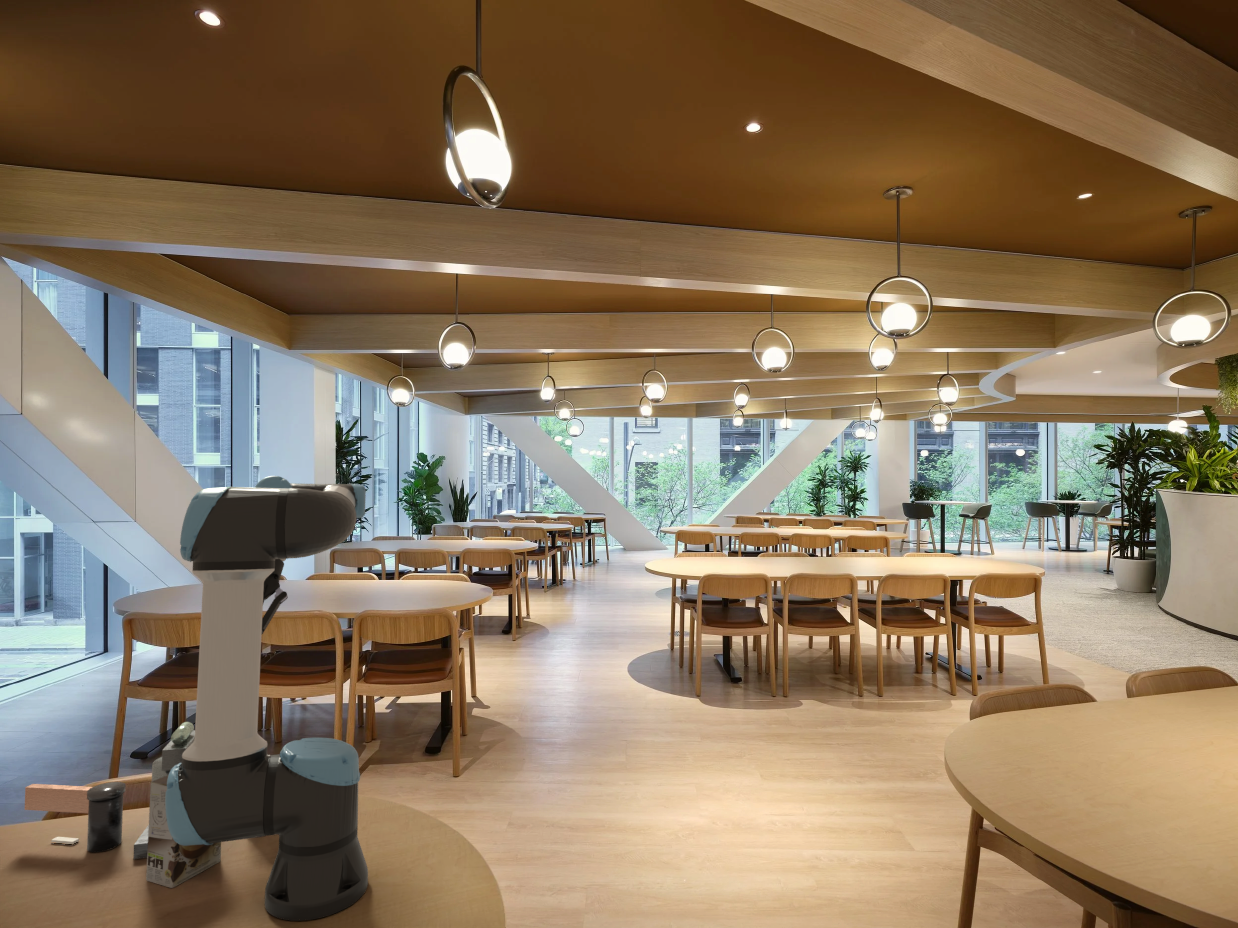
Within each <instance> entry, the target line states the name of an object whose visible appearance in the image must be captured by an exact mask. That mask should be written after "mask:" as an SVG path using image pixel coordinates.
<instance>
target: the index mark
mask: <svg viewBox="0 0 1238 928" xmlns="http://www.w3.org/2000/svg"><path fill="white" fill-rule="evenodd" d="M50 841H51V842H56V843H65V844H74V843H76V842H78V841H79V842H80V838H77V837H67V836H56V837H54V838H52V839H51V840H50ZM51 842H50V843H51ZM79 842H78V843H79ZM65 844H64V845H65ZM76 844H77V843H76ZM74 845H75V844H74Z"/></svg>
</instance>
